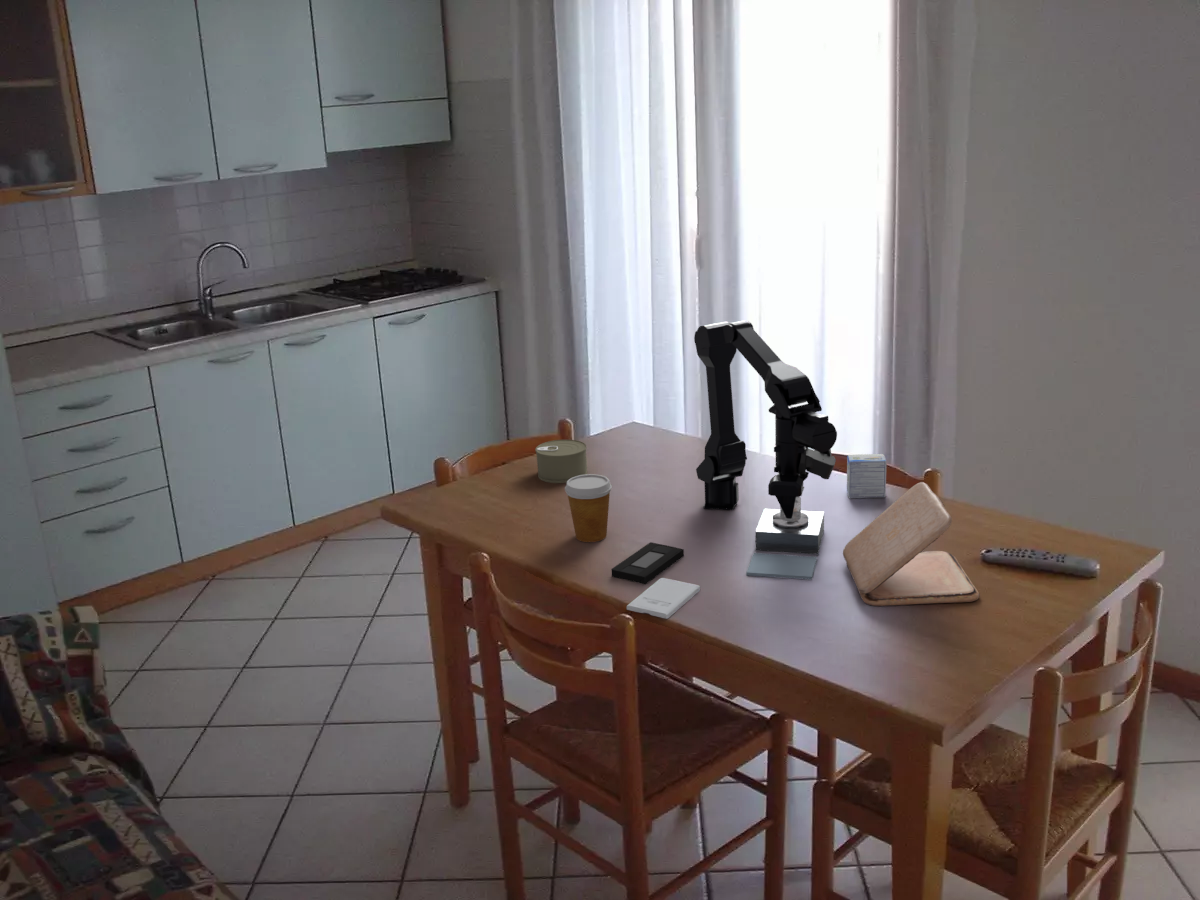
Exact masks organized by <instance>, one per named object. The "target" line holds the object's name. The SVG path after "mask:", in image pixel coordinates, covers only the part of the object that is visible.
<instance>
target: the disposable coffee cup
mask: <svg viewBox="0 0 1200 900" xmlns="http://www.w3.org/2000/svg"><path fill="white" fill-rule="evenodd" d="M565 484H566V485H565V486H564V491H565V493H566V495H567V499H568V503H569V508H570V513H571V518H572V524H573V529H574V534H575V539H576V540H577V541H579V542H583V543H596V542H600V541H602V540H604V539H605V538H607V535H608V534H607V533H608V521H609V520H608V519H609V511H610V510H609V509H610V507H609V506H610V495H611V494H610V492H611V490H612V488H613V486H612V483H611V482H610V479H609V478H608V477H607V476H606V475H602V474H594V473H587V474H586V475H579V476H575V477H572V478H570V479H569V480H568V481H567V483H565Z"/></svg>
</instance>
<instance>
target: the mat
mask: <svg viewBox="0 0 1200 900" xmlns="http://www.w3.org/2000/svg"><path fill="white" fill-rule="evenodd" d="M817 561H818V556H812V555H811V556H810V555H809V556H807V555H795V554H794V555H793V554H780V553H779V554H778V553H777V554H776V553H761V552H753V554H752V556H751V560H750V562H749V564H748V567H747V570H746V576H750V577H751V576H752V577H753V576H754V577H764V578H765V577H767V578H782V579H796V580H808V581H810V580H813V577H814V572H815V569H816V565H817Z"/></svg>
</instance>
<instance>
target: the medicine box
mask: <svg viewBox="0 0 1200 900" xmlns="http://www.w3.org/2000/svg"><path fill="white" fill-rule="evenodd" d="M846 461H847V462H846V492H847V496H848V498H849V499H868V498H872V499H874V498H886V495H887V494H886V492H887V462H888V461H887V459H886V456H885V455H884V454H883V453H879V454H878V453H877V454H876V453H867V454H866V453H865V454H863V453H862V454H848V455H847V456H846Z"/></svg>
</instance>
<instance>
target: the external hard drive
mask: <svg viewBox="0 0 1200 900" xmlns="http://www.w3.org/2000/svg"><path fill="white" fill-rule="evenodd" d="M699 592H701V587H700V585H698V584H695V583H689V582H686V581H681V580H675V579H671V578H665V577H660V578H659V579H658V580H656V581H655V582H654V583H653V584H651V586H649V587H648V588H647V589H645V590H644V591H643V592H642V593H640V594H639V595H638V596H637V597H635V598H634V599H633V600H632V601H631V602H630V603H629V604H627V605H626V610H627V611H632V612H635V613H640V614H647V615H650V616H652V617H658V618H662V619H666V620H667V619H669V618H670V617H671V616H672V615H673V614H675V613H676V612H677V611H678V610H680V609H681V608H682V607H683V606H684V605H685V604H687V602H688V601H690V600H691V599H692V598H693V597H694V596H696V595H697V593H699Z"/></svg>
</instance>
